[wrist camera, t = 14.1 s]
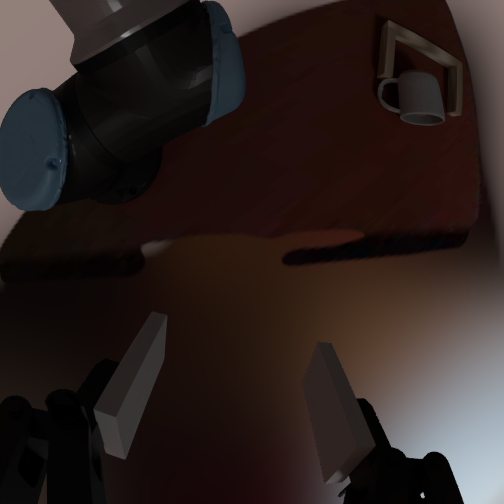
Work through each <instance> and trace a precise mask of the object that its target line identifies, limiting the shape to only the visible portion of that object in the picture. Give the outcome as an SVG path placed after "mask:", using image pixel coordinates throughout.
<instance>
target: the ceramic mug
mask: <svg viewBox="0 0 504 504" xmlns="http://www.w3.org/2000/svg"><path fill="white" fill-rule="evenodd" d="M387 83H398V92H399V109H397V108H394V107H391V106H389V105H388V104H387V103H385V102H384V100H382V90H383V86H384V85H385V84H387ZM377 96H378V100H379V102H380V103H381V104H382V105H383V107H385V108H386V109H388V110H390V111H392V112H395V113H399V114H400V118H401V120H403V121H405V122H408V123H411V124H418V125H437V124H441V123H443V122H444V121H445V116H444V110H443V104H442V99H441V93H440V88H439V84H438V82H437V79H436V77H435V76H434V75H433V74H431V73H429V72H427V71H423V70H407V71H404V72H402V73H401V74H400V75H399V77H398V79H397V78H388V79H385V80H383V81H382V82H381V83H380V84H379V86H378V91H377Z"/></svg>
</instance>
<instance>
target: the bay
mask: <svg viewBox="0 0 504 504" xmlns="http://www.w3.org/2000/svg"><path fill="white" fill-rule="evenodd" d="M395 39H396V40H398V41H400V42H402V43H404V44H406V45H408V46H410V47H412V48H414V49H416V50H418V51H419V52H421V53H423V54H425V55H426V56H428V57H430V58H432V59H433V60H435V61H437V62H438V63H440V64H441V65H443V66H445V67H446V68H448V97H447V114H448V115H450V116H452V117H453V116H458V115H462V88H463V82H462V63H461V62H460V61H458V60H457V59H455V58H454V57H453V56H451V55H450V54H448V53H447V52H445V51H443V50H442V49H440V48H439V47H437V46H435V45H434V44H432V43H431V42H429V41H427V40H425V39H424V38H422V37H420V36H418V35H417V34H415V33H413V32H411V31H409V30H407V29H405V28H403V27H401V26H399V25H397V24H395V23H393V22H391V21H389V20H388V21H387V22H386V23H385V24H384V25H383V26H382V27H381V41H380V53H379V63H378V72H377V78H378V79H381V80H385V79H388V78H391V77H392V76H393V67H394V55H395Z"/></svg>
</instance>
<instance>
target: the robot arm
mask: <svg viewBox="0 0 504 504" xmlns="http://www.w3.org/2000/svg"><path fill="white" fill-rule="evenodd" d="M49 1H50V2H51V3H52V5H53V6H54V7H55V9H56V10H57V12H58V13H59V15H60V16H61V17H62V19H63V20H64V21H65V23H66V24H67V26H68V27H69V28H70V30H71V31H72V33H73V34H74V39H75V41H74V45H73V49H72V53H71V57H70V62H71V64H72V65H73V66H74V67H75V69H76V70H77V71H78V72H77V73H75V74H74V75H73V76H71V78H69V79H68V80H66V81H65V82H64V83H63V84H61V85H60V86H59V87H58V88H56V89H55V90H53V91H51V90H49V89H47V88H40V89H32V90H29V91H27V92H25V93H23V94H22V95H21V96H19V97H18V98H17V99H16V100H15V101H14V103H13V104H12V105H11V107H10V108H9V110H8V111H7V113H6V115H5V117H4V119H3V121H2V124H1V127H0V187H1V189H2V192H3V194H4V195H5V197H6V198H7V200H8V201H9V202H10V203H11V204H13V205H15V206H16V207H17V208H18V209H20V210H24V211H32V210H47V209H49V208H51V207H53V206H57V205H61V204H66V203H70V202H74V201H79V200H83V199H88V198H90V199H92V200H95V201H97V202H99V203H102V204H108V205H116V204H121V203H125V202H129V201H131V200H133V199H135V198H137V197H139V196H140V195H141V194H143V193H144V192H145V191H146V190H147V189H148V188H149V187H150V185H151V184H152V183H153V181H154V179H155V178H156V176H157V173H158V171H159V168H160V165H161V160H162V145H164V144H165V143H167V142H169V141H171V140H173V139H175V138H177V137H179V136H181V135H183V134H185V133H187V132H189V131H191V130H193V129H195V128H197V127H199V126H202V127H205V126H207V125H208V124H210V123H211V121H213V120H215V119H217V118H219V117H221V116H223V115H225V114H227V113H229V112H231V111H233V110H235V109H236V108H237V107H238V106H239V105H240V103H241V102H242V100H243V98H244V95H245V87H246V83H245V71H244V65H243V60H242V56H241V51H240V47H239V44H238V41H237V37H236V35H235V34H234V33H233V31H232V26H231V23H230V19H229V17H228V15H227V13H226V12H225V10H224V8H223V7H222V6H221V5H220V4H219V3H217V2H215V1H204V2H202V3H201V2H200V0H49ZM166 324H167V315H164V314H160V313H156V312H152V313H151V314H150V316H149V317H148V319H147V321H146V322H145V324H144V325H143V327H142V329H141V330H140V331H139V333H138V335H137V336H136V338H135V339H134V341H133V343H132V344H131V346H130V348H129V349H128V351H127V352H126V354H125V356H124V357H123V359H122V361H121V362H120V363H118V362H115V361H112V360H109V359H106V358H105V359H104V360H102V361H100V362H99V363H97V364H96V365H95V366H94V368H93V369H92V371H91V373H90V374H89V375H88V377H87V378H86V381H84V382H83V384H82V385H81V387H80V388H79V390H78V391H77V393H75V392H74V391H71V390H67V389H58V390H56V391H53V392H51V393H50V394H49V395H48V396H47V398H46V400H45V403H46V406H47V408H48V411H44V410H39V409H35V408H32V407H31V405H30V403H29V402H28V400H26V399H25V398H23V397H21V396H9V397H7V398H5V400H4V401H2V403H1V404H0V504H38V500H39V496H40V493H41V489H42V486H43V482H44V479H45V475H46V473H47V504H107V501H106V494H105V487H104V479H103V468H102V459H101V456H100V454H101V452H102V449H103V447H104V448H105V451H106V453H108V454H111V455H114V456H116V457H119V458H122V459H126V457H127V454H128V451H129V448H130V446H131V443H132V440H133V437H134V435H135V432H136V429H137V427H138V424H139V421H140V419H141V416H142V413H143V411H144V408H145V406H146V403H147V400H148V398H149V395H150V393H151V390H152V388H153V385H154V383H155V380H156V378H157V375H158V373H159V370H160V368H161V366H162V363H163V361H164V353H165V338H166ZM302 387H303V391H304V395H305V400H306V404H307V408H308V412H309V417H310V421H311V425H312V430H313V434H314V438H315V443H316V447H317V451H318V456H319V460H320V465H321V469H322V474H323V478H324V483H325V484H329V483H339V482H343V481H344V480H345V479H346V478H347V477H348V476H349V477H350V481H351V483H350V484H349V485H348V486H347V487H346V488H344V489H343V491H341V492H340V493H339V495H338V496H339V497H341V496H342V495H343V494H345V497H344V503H343V504H464V502H463V499H462V496H461V494H460V491H459V488H458V485H457V483H456V480H455V478H454V475H453V472H452V470H451V467H450V465H449V462H448V460H447V459H446V457H445V456H444V455H442V454H441V453H439V452H430V453H428V454H427V455H426V456H425V457H424V458H423V459H414V458H406V456H405V454H404V453H403V452H402V451H400V450H399V449H396V448H393V447H391V445H390V443H389V441H388V439H387V437H386V435H385V432H384V430H383V428H382V426H381V424H380V423H379V419H378V418H377V416H376V413H375V411H374V409H373V407H372V405H371V404H370V403H368V401H367V400H366V399H364V398H361V399H356V397H355V395H354V393H353V390H352V389H351V386H350V384H349V381H348V379H347V377H346V375H345V373H344V370H343V368H342V366H341V364H340V361H339V359H338V357H337V355H336V353H335V350H334V348H333V346H332V344H331V343H323V342H317V345H316V347H315V350H314V352H313V355H312V357H311V360H310V362H309V365H308V367H307V369H306V372H305V374H304V377H303V379H302ZM422 492H423V493H424V496H425V498H421V495H420V494H421V493H422Z"/></svg>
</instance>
